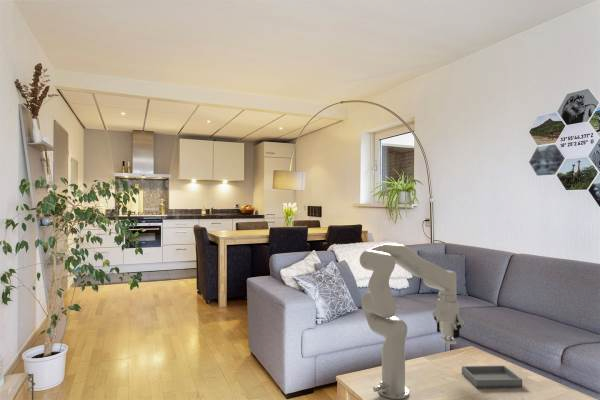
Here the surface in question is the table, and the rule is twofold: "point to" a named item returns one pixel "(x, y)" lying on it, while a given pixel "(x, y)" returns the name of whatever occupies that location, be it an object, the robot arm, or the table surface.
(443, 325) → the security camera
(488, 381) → the parts tray
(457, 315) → the robot arm
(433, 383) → the table surface
